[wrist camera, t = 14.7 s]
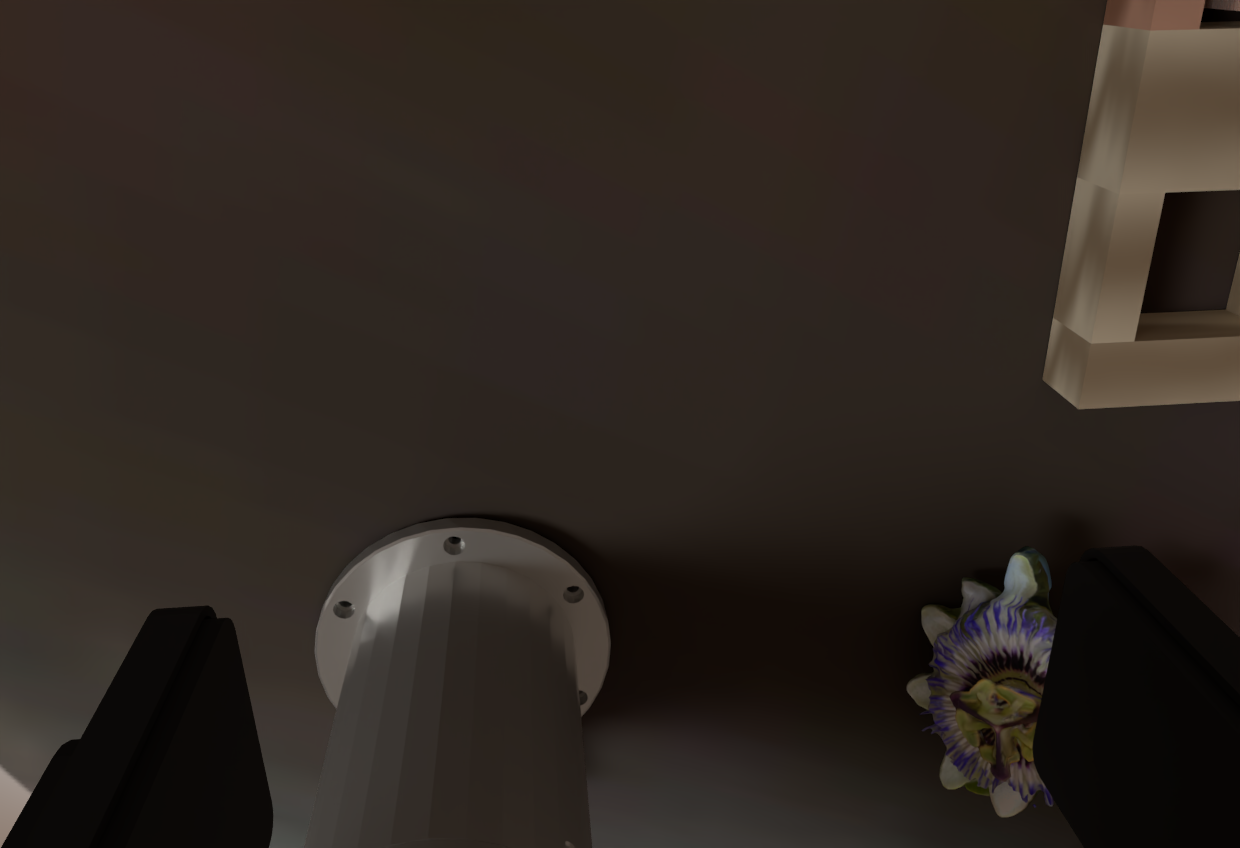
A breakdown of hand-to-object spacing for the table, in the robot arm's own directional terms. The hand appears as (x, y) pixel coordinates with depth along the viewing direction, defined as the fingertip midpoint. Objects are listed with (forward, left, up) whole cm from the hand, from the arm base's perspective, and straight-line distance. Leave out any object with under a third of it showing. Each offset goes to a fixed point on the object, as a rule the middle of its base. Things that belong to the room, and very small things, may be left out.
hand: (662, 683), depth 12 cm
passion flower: (-22, -20, -29) cm, 41 cm away
